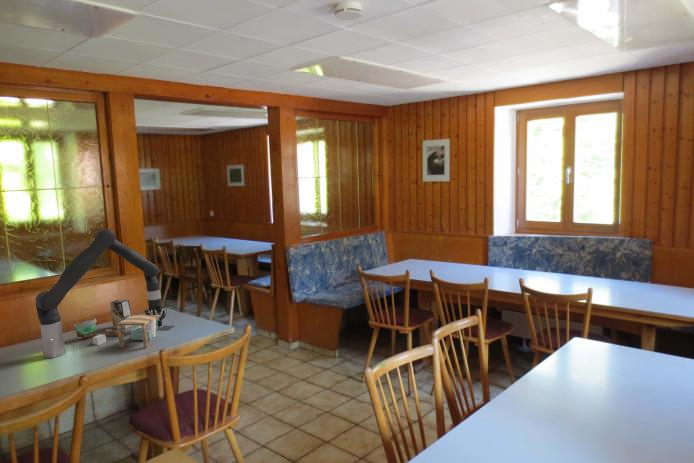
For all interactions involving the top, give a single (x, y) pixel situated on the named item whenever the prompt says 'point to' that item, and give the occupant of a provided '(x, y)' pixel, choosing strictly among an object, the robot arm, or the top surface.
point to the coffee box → (120, 312)
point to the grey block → (99, 339)
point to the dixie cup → (151, 328)
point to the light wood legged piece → (136, 320)
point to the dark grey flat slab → (165, 328)
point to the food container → (86, 329)
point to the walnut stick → (112, 332)
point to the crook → (137, 333)
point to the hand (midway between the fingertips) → (157, 326)
